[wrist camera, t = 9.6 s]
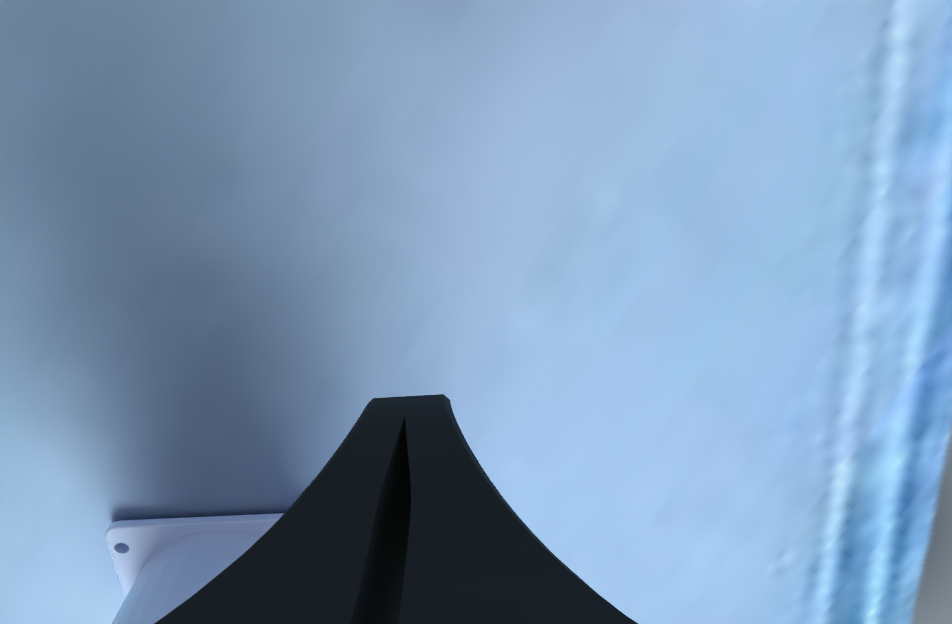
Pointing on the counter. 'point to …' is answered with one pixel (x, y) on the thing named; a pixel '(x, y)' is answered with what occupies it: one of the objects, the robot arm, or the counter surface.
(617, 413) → the counter surface
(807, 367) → the counter surface
